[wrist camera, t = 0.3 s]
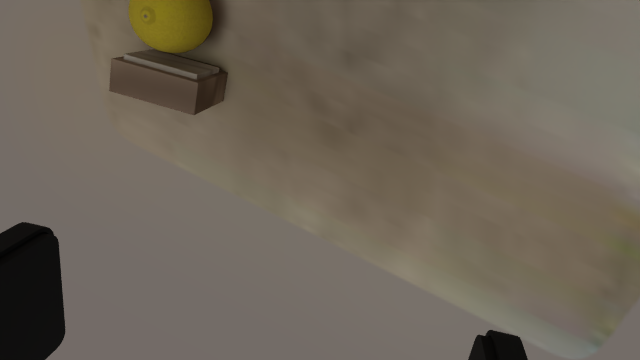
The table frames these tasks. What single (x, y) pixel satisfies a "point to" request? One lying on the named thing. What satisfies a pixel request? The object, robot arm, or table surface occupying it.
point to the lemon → (171, 23)
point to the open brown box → (168, 80)
